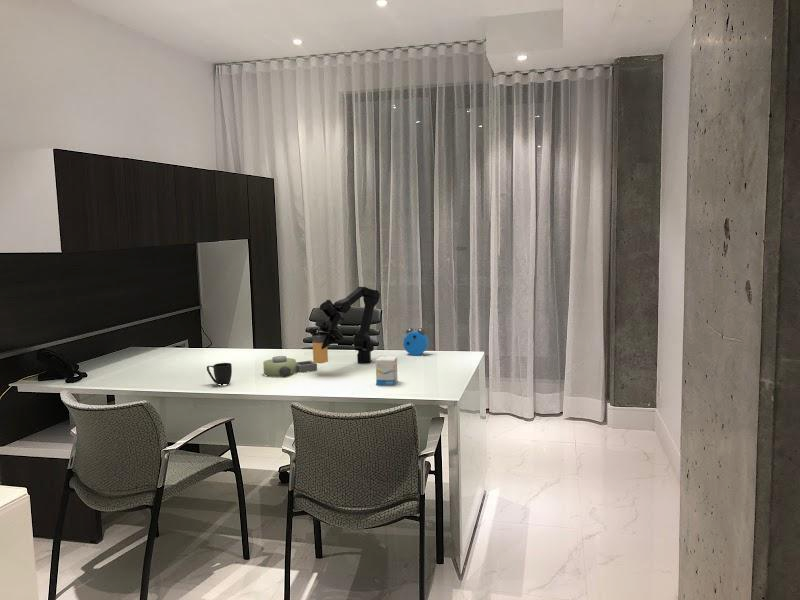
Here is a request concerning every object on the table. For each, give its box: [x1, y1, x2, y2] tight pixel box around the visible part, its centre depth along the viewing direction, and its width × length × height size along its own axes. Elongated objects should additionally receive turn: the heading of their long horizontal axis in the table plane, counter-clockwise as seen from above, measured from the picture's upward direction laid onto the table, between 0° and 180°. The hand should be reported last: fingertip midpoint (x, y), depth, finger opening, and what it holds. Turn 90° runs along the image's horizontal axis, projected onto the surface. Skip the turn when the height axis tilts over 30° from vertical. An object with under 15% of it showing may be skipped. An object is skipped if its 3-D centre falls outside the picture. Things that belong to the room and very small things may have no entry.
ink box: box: [375, 355, 398, 386], centre depth 297 cm, size 9×8×12 cm
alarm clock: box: [402, 327, 429, 356], centre depth 360 cm, size 13×6×15 cm, turn 74°
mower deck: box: [262, 355, 318, 378], centre depth 327 cm, size 26×20×8 cm
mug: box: [206, 362, 233, 385], centre depth 305 cm, size 8×12×10 cm
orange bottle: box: [311, 335, 329, 364], centre depth 317 cm, size 5×5×13 cm
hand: (318, 348), depth 316 cm, fingers closed on orange bottle, 5 cm apart
